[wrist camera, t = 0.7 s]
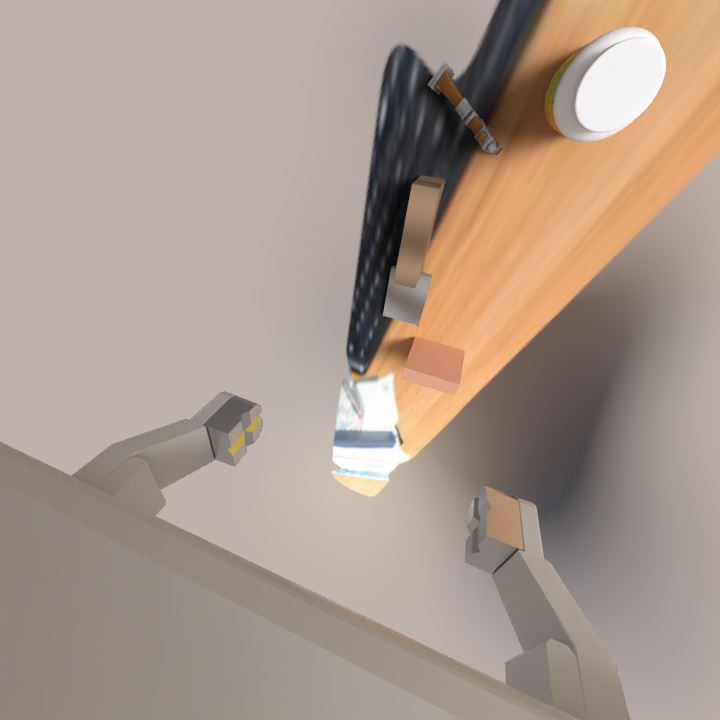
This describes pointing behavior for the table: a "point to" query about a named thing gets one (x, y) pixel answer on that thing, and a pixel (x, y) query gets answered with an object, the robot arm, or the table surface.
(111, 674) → the robot arm
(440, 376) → the tile
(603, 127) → the supplement bottle
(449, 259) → the table surface
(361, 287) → the table surface
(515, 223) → the table surface
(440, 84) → the wooden post with brackets
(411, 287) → the brown bar with plate
